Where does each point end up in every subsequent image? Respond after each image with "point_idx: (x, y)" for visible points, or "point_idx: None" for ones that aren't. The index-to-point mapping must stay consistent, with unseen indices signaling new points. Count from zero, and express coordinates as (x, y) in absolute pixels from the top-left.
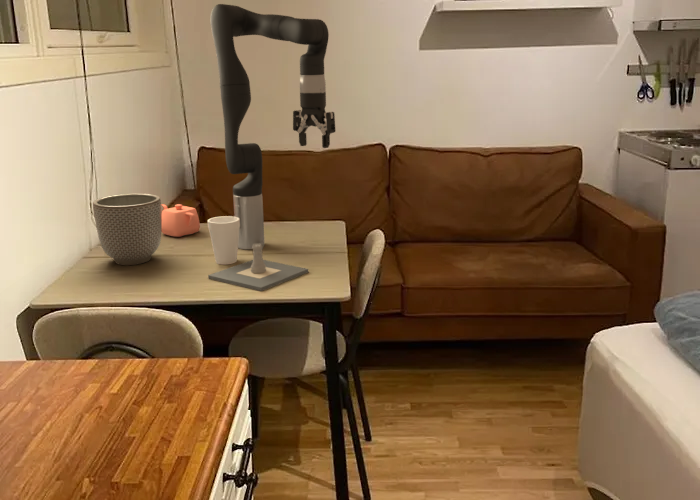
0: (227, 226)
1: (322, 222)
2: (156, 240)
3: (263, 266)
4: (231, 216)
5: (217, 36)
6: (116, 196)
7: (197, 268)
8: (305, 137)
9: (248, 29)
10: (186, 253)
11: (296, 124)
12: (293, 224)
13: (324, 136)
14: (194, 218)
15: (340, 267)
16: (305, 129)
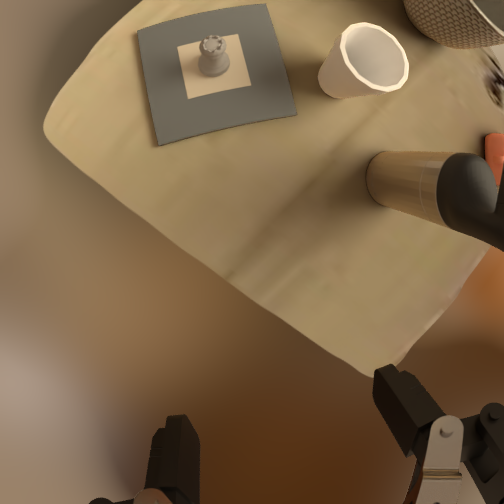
0: (338, 39)
1: (393, 360)
2: (417, 10)
3: (199, 63)
4: (393, 89)
5: None
6: None
7: (331, 28)
8: (395, 430)
9: None
10: (418, 78)
11: (497, 452)
12: (422, 320)
13: (160, 482)
14: (497, 161)
15: (144, 213)
16: (418, 474)
